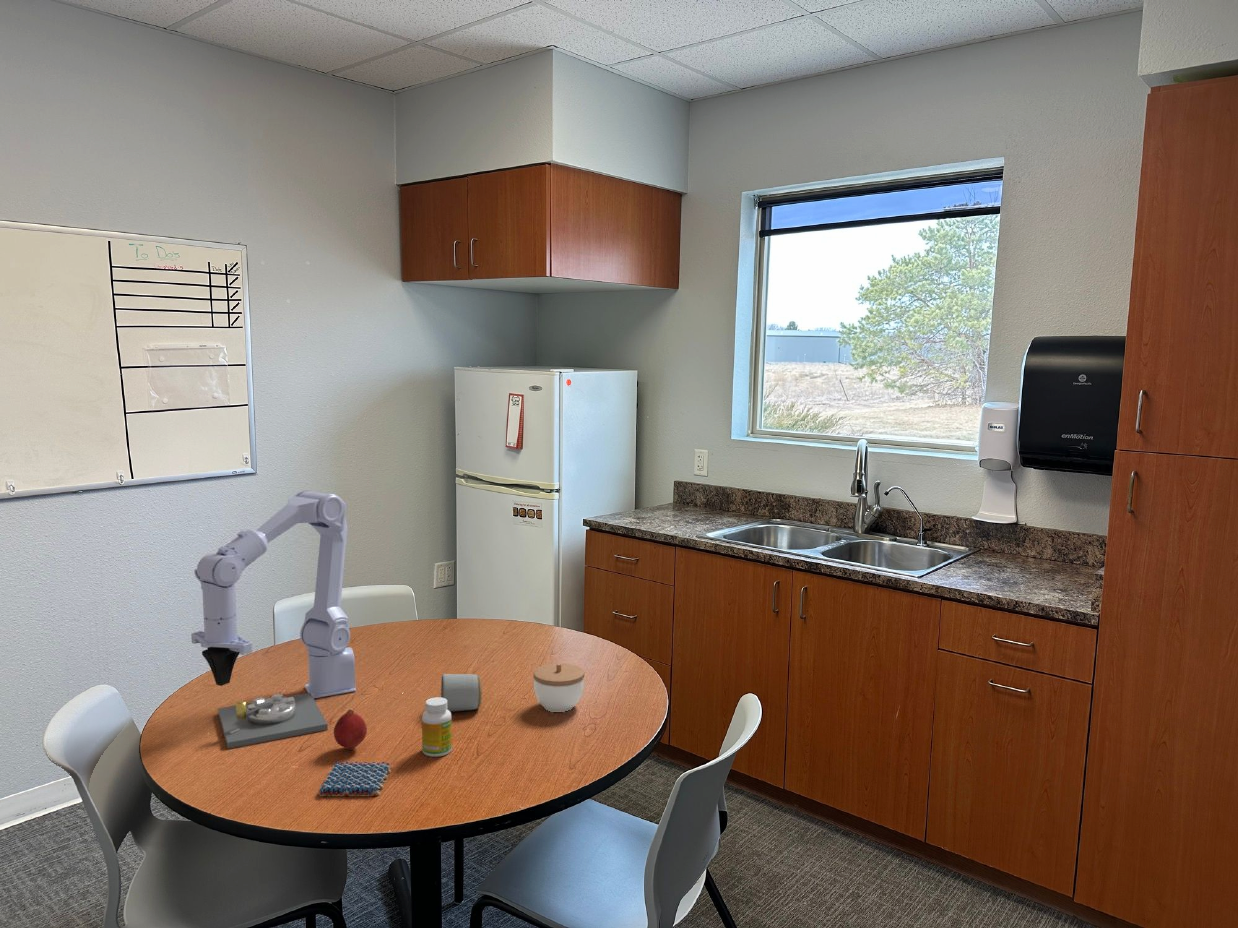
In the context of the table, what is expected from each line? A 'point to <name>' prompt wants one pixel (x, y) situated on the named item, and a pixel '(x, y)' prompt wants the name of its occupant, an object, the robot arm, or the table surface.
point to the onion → (350, 730)
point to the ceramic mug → (461, 691)
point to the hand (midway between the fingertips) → (223, 683)
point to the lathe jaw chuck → (267, 710)
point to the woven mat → (355, 779)
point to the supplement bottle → (436, 728)
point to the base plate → (248, 733)
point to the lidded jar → (558, 686)
